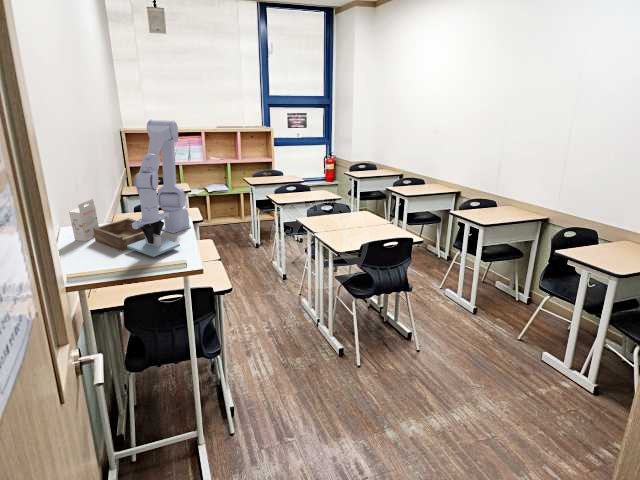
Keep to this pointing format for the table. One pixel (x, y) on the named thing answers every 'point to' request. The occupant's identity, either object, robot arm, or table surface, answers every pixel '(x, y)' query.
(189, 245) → the table surface
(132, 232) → the walnut box
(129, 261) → the table surface
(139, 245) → the cover plate
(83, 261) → the table surface
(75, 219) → the ink cartridge box
